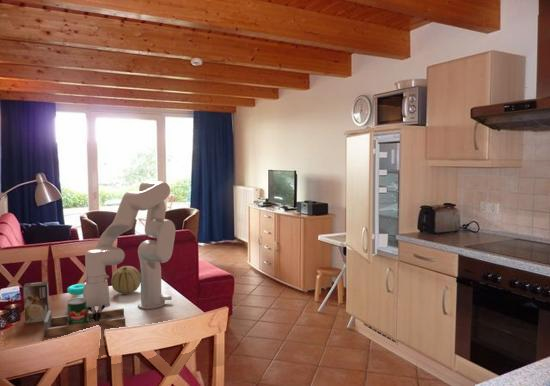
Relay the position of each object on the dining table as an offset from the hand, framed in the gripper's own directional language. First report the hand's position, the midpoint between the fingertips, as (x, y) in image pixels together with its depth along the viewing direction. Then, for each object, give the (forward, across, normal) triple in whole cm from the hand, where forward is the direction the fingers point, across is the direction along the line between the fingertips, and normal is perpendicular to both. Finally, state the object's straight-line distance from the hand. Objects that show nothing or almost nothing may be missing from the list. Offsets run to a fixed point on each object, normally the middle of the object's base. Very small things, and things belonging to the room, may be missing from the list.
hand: (97, 321), depth 174 cm
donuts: (+1, +8, -27) cm, 28 cm away
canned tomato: (+1, +7, 0) cm, 7 cm away
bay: (+1, +4, 0) cm, 4 cm away
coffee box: (+1, +24, -15) cm, 28 cm away
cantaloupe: (+1, -14, -39) cm, 42 cm away
